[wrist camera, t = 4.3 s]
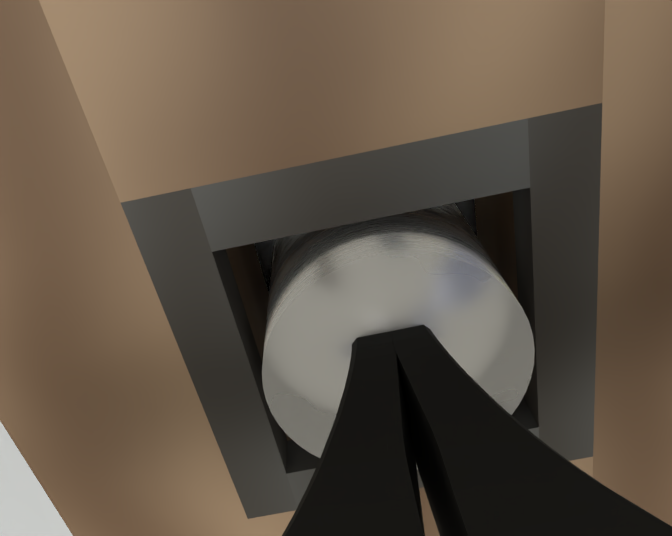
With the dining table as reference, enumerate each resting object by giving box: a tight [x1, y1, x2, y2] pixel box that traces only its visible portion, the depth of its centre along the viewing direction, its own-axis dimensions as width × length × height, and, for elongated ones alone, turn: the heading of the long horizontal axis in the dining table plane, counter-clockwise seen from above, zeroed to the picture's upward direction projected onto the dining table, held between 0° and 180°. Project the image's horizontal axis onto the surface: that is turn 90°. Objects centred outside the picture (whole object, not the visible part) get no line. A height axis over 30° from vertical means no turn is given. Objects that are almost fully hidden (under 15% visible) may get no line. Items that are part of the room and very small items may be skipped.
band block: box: [0, 0, 672, 536], centre depth 13 cm, size 16×16×5 cm
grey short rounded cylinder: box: [262, 203, 535, 470], centre depth 13 cm, size 5×5×4 cm
